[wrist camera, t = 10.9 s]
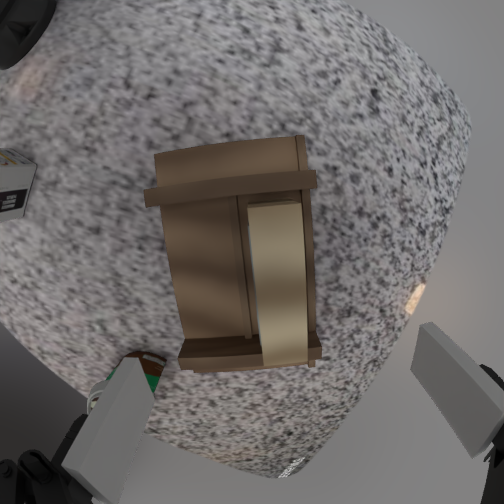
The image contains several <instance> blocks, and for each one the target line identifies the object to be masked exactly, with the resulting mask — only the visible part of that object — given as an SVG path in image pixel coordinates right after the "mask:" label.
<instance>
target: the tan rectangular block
mask: <svg viewBox="0 0 504 504" xmlns="http://www.w3.org/2000/svg"><path fill="white" fill-rule="evenodd" d="M247 210H248V234H249V244H250V253H251V263H252V272H253V281H254V291H255V300H256V309H257V319H258V328H259V337H260V345H262V353H263V362H264V366H271V365H281V364H290V363H298V362H305V361H308V339H307V295H306V270H305V250H304V234H303V219H302V206H301V203H299V202H297V201H294V200H292V199H290V198H284V199H273V200H262V201H252V202H248V207H247Z"/></svg>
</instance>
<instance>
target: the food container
mask: <svg viewBox="0 0 504 504" xmlns="http://www.w3.org/2000/svg"><path fill="white" fill-rule="evenodd" d="M125 357H130V358H139V361H140V364H141V366H142V369H143V372H144V374H145V377H146V379H147V382H148V384H149V387H150V389H151V391H152V394H153V396H154V395H155V394H154V391H155V389H156V386H157V384H158V381H159V378H160V376H161V373H162V371H163V368H164V366H165V363H166V361H167V360H166V359H164V358H163V357H161V356H159V355H156V354H153V353H150V352H142V351H136V352H132V353H129V354H127V355H126V356H125ZM122 360H123V359H122ZM122 360H121V361H120V363H121V362H122ZM120 363H119V364H118V365H117V366H116V368H115V369H114V370H113V371H112V372H111V374H110V375H109V376H108V377H107V379H106V380H105V381H101V382H99V383H97V384H95V385H94V386H93V387H92V389H91V391H90V394H89V398H88V401H87V412H88V415H89V414H90V412H91V411H92V409H93V407H94V405H95V404H96V402H97V400H98V399H99V397H100V395H101V394H102V392H103V391H104V389H105V387H106V386H107V384H108V382H109V381H110V379H111V377H112V376H113V374H114V373H115V371H116V369H117V368H118V366H119V365H120Z"/></svg>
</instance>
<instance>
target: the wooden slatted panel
mask: <svg viewBox="0 0 504 504" xmlns="http://www.w3.org/2000/svg"><path fill="white" fill-rule="evenodd" d="M154 158H155V168H156V178H157V186H158V187H157V188H151V189H145V190H144V198H145V206H146V207H152V206H159V205H160V210H161V217H162V224H163V230H164V237H165V243H166V249H167V255H168V260H169V266H170V271H171V277H172V282H173V287H174V292H175V297H176V301H177V306H178V311H179V315H180V319H181V324H182V328H183V332H184V336H185V340H184V343H183V345H182V348H181V351H180V353H179V356H178V361H179V365H180V368H181V370H193V371H194V373H204V372H230V371H246V370H258V369H269V368H279V367H288V366H296V365H304V364H308V367H309V368H311V367H315V360H317V359H322V346H321V343H320V341H319V338H318V336H317V333H316V309H315V269H314V246H313V228H312V212H311V199H310V189H314V188H317V179H316V170H308V165H307V155H306V146H305V137H304V135H296V136H295V137H279V138H265V139H254V140H244V141H235V142H226V143H219V144H211V145H204V146H198V147H191V148H185V149H179V150H174V151H168V152H163V153H158V154H154ZM284 198H290V199H292V200H294V201H297V202H299V203H301V206H302V219H303V234H304V250H305V270H306V295H307V339H308V361H305V362H298V363H290V364H281V365H271V366H264V362H263V353H262V345H260V337H259V328H258V319H257V309H256V300H255V291H254V281H253V272H252V263H251V253H250V244H249V234H248V210H247V207H248V202H252V201H262V200H273V199H284Z"/></svg>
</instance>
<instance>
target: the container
mask: <svg viewBox="0 0 504 504" xmlns="http://www.w3.org/2000/svg"><path fill="white" fill-rule="evenodd" d="M35 170H36V164H34V163H32V162H31V161H29V160H28V159H26V158H25V157H23V156H21V155H20V154H18V153H17V152H15V151H14V150H12V149H9V148H0V223H1V222H5V221H9V220H12V219H16V218H20V217H22V216H23V214H24V210H25V206H26V202H27V198H28V194H29V190H30V187H31V183H32V180H33V177H34V173H35Z"/></svg>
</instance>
